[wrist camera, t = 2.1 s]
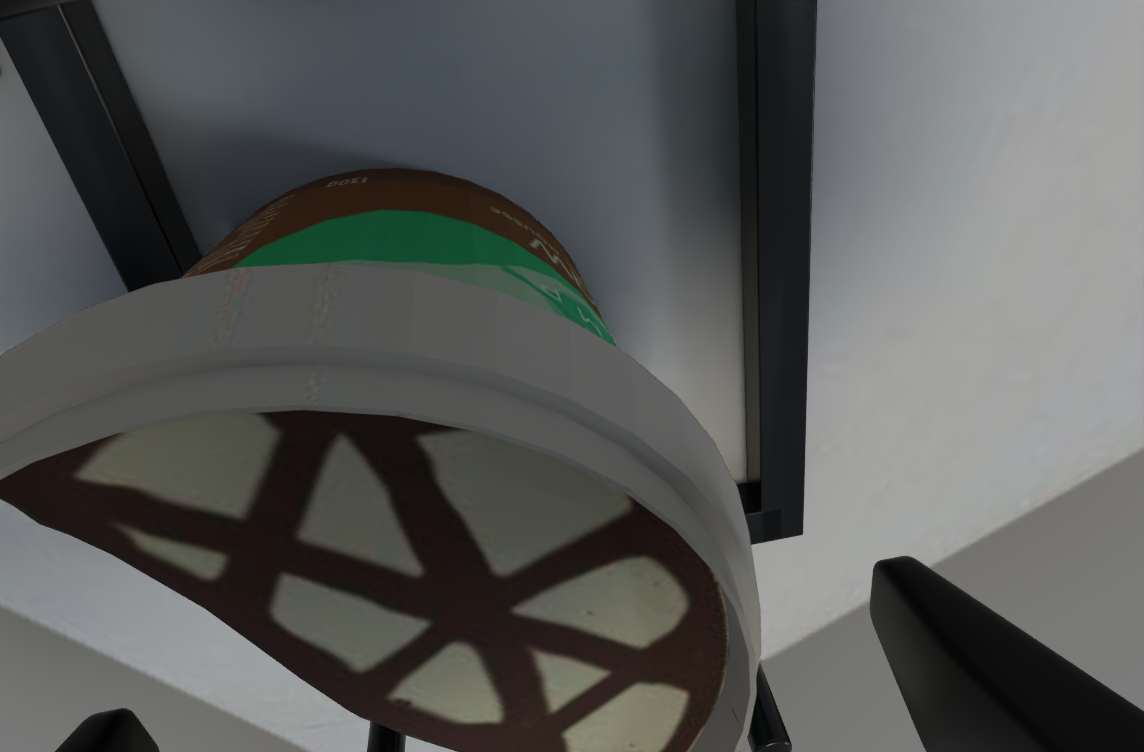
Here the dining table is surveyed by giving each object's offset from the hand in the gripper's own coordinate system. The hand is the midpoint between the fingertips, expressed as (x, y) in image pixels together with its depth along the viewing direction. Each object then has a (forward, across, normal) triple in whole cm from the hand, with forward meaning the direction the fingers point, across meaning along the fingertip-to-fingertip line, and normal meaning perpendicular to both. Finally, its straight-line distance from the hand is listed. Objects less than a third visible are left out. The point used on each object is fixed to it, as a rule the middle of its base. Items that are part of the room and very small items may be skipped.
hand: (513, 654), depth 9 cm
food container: (+10, 0, 0) cm, 10 cm away
